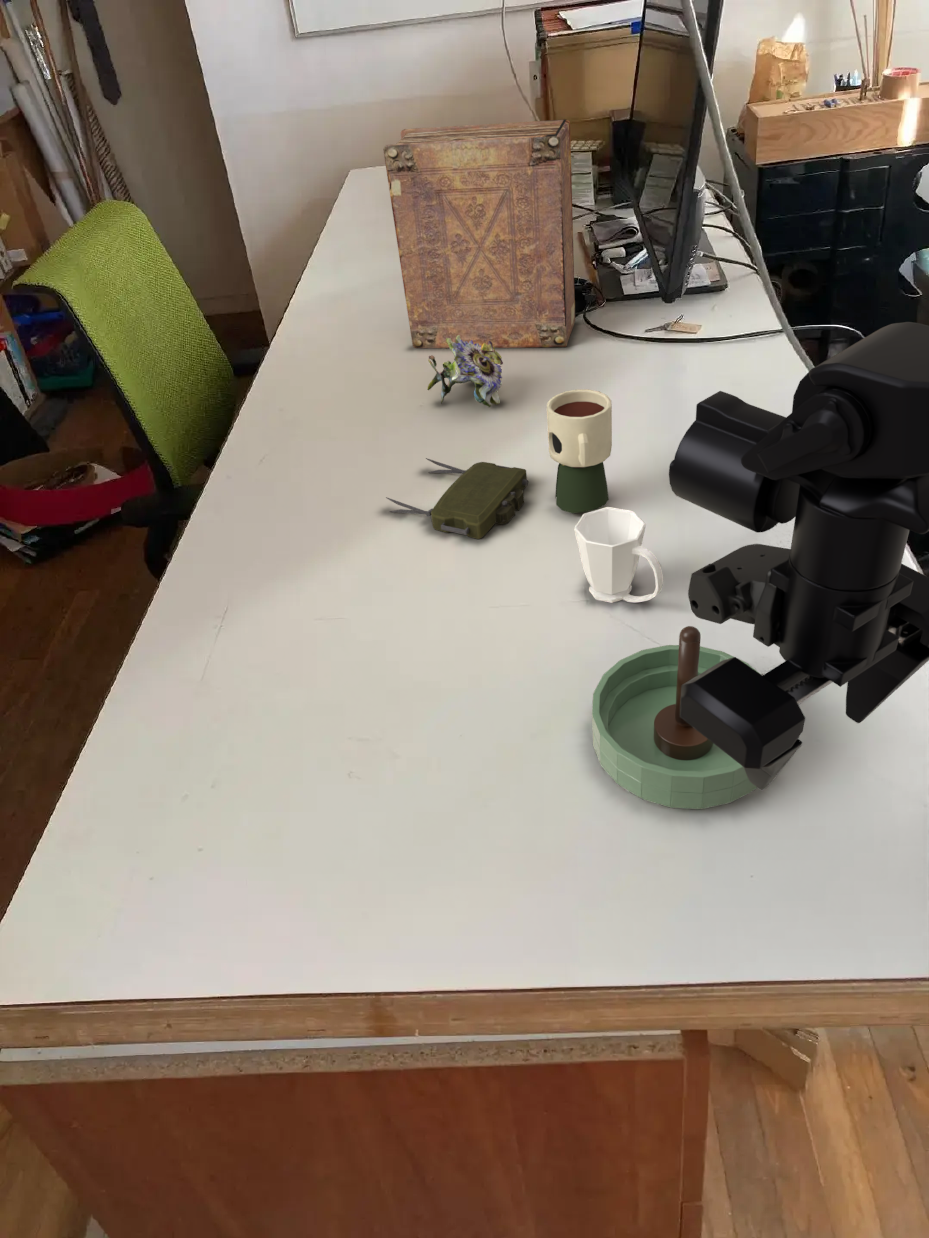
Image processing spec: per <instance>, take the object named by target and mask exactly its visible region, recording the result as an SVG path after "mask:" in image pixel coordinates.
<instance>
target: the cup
mask: <svg viewBox="0 0 929 1238" xmlns="http://www.w3.org/2000/svg"><path fill="white" fill-rule="evenodd" d="M646 526H647V524H646V523H645V521H644V520H642V518H641V517H640V516H639V515H638V514H637V513H636V512H635V511H634V510H631V509H624V508H618V507H611V506H606V507H605V506H604V507H601V508H598V509H596V510H591V511H587V512H584V513H583V514H582V515H581V517H580V518H579V520H578V522H577V523H576V524H575V526H574V528H573V529H574V535H575V539H576V542H577V548H578V551H579V557H580V561H581V566H582V569H583V572H584V574H585V578H586V580H587V583H588V584H589V587H588V592H589V593H590V594H591V596H593V598H594V599H595V600H596V601H599V602H606V603H610V604H614V603H615V602H620V601H622V600H623V601H625V602H627V603H641V602H642V603H643V602H647V601H650V600H652V599H653V598H654V597H657V596H658V595H659V594H660V593H661V592H662V589H663V587H664V575H663V571H662V566H661V564H660V562H659V560H658V558H657V556H656V555H655V554H654V553H653V552H652V551H651V550H650V549H648V548H646V547H645V546H643V541H644V536H645V530H646ZM640 557H643V558H644V559H646V560H647V561H648V563H649V566H650V567H651V568H652V570H653V575H654V581H655V589H654V591H653V593H649V594H646V595H645V594H644V595H632V594H630V592H631V591H632V589H633V586H632V582H633V580H634V577H635V574H636V572H637V568H638V565H639V561H640Z"/></svg>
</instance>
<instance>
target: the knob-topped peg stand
mask: <svg viewBox="0 0 929 1238" xmlns="http://www.w3.org/2000/svg"><path fill="white" fill-rule="evenodd" d="M701 635H702V634H701V632H700V630H699V629H698V628H696V626H691V625H687V626H685V627H683V628H682V629H681V630H680V632H679V637H678V645H679V653H678V671H677V689H676V704H673V705H669V706H667V707H665V708H663V709H662V710H661V711H659V713H658V714H657V715H656V717H655V720H654V742H655V744H656V746H657V747H658V749H659V750H660V751H661V752H662V753H664V754H665V755H667V756H669V757H671V758H674V759H678V760H693V759H697V758H700V757H702V756H704V755H705V754H707V753H708V752H709V751H710V749H711V748H712V746H713V743H712V742H711V741H710V740H709V739H707V738H706V737H705V736H703V735H702V734H701V733H700V732H698V731H697V730H696V729H695V728H693V727H692V726H691V725H689V724H688V723H687V722H686V721H684V720H683V719H682V718H681V717H680V700H681V685H683V684H684V683H686V682H688V681H689V680H691V679H693V678H694V677H696V676H698V666H699V652H700V646H701V640H702V639H701Z"/></svg>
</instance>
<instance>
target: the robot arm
mask: <svg viewBox="0 0 929 1238" xmlns="http://www.w3.org/2000/svg"><path fill="white" fill-rule="evenodd" d="M791 407H792V409H791V413H790V414H788V416H784V415H781V414H778V413H775V412H772V411H770V410H766V409H764V408H760V407H758V406H756V405H752V404H750V403H748V402H746V401H745V400H742V399H741V398H740V397H738V396H736V395H733V394H731V393H729V392H726V391H722V390H719V391H717V392H715V393H714V394H712V395H710V396H708V397H706V398H705V399H703V400H701V401H699V402H698V403H697V404H696V407H695V411H696V412H695V420H694V421H693V422H692V423H691V425H690V426H689V427H688V429H687V430H686V431H685V433H684V435H683V437H682V438H681V440H680V442H679V444H678V447H677V449H676V451H675V455H674V459H672V460H671V462H670V463H669V466H668V468H669V469H668V481H669V482H668V483H669V486H670V488H671V491H672V493H673V494H674V495H675V496H676V497H678V498H680V499H683V500H685V501H687V502H689V503H691V504H694V505H695V506H697V507H700V508H702V509H704V510H707V511H709V512H711V513H713V514H715V515H717V516H720V517H721V518H724V519H726V520H728V521H730V522H733V523H735V524H737V525H739V526H741V527H744V528H745V529H748V530H751V532H755V533H765V532H768V531H770V530H771V529H773V528H775V527H776V526H777V525H778V524H782V525H783V524H787V523H789V522H791V521H792V520H793V519H794V523H793V529H792V530H793V531H792V537H791V543H790V544H791V545H790V548H785V547H780V546H774V545H770V544H769V545H768V544H762V543H752V544H746V545H743V546H741V547H739V548H736V549H735V550H733V551H731V552H730V553H728V554H726V555H724V556H722V557H720V558H718V559H717V560H715V561H713V562H711V563H708V564H707V565H705V566H703V567H701V568H699V569H698V570H695V571H694V572H692V573H691V574H690V579H689V585H688V591H687V598H688V602H689V606H690V610H691V612H692V614H693V615H694V616H695V617H696V618H698V619H701V620H705V621H708V622H712V623H715V624H719V625H722V624H724V623H725V622H727V621H729V620H734V621H737V622H742V623H745V624H748V625H749V624H750V625H753V632H752V633H753V634H752V638H754V640H757V641H758V642H760V643H761V644H763V645H765V646H766V647H767V648H768V647H771V646H772V645H775V646H777V647H778V648H779V651H778V652H779V654H780V656H781V657H782V659H783V660H784V661H783V662H782V663H780V664H778V665H777V666H775V667H773V668H772V669H770V670H769V671H767V672H766V673H764V674H762V673H760V672H759V671H758V670H757V671H758V672H759V673H760V674H759V673H758V672H757V671H755V670H756V669H755V668H754V669H755V670H754V669H752V668H751V667H749V666H748V665H746V664H745V663H743V662H742V661H743V660H742V659H740V658H737V656H734V657H733V658H730V659H726V660H722V661H721V662H719V663H718V664H716V665H714V666H713V667H711V668H709V669H708V670H706V671H704V672H703V673H701V674H699V675H698V676H696V677H694V678H693V679H691V680H689V681H688V682H686V683H684V684H683V685H681V700H680V717H681V718H682V719H683V720H684V721H686V722H687V723H688V724H689V725H691V726H692V727H693V728H695V729H696V730H697V731H698V732H700V733H701V734H702V735H703V736H705V737H706V738H707V739H709V740H710V741H711V742H712V743H714V744H715V745H716V746H717V747H719V748H720V749H721V750H723V751H724V752H725V753H726V754H728V755H729V756H730V757H731V758H733V759H734V760H735V761H736V762H738V763H739V764H740V765H742V766H743V767H744V769H745V772H746V774H747V776H748V779H749V781H750V782H751V783H752V784H753V785H755V786H756V787H757V788H756V789H759V790H760V791H764V790H765V789H767V788H768V787H769V785H770V784H771V783H772V782H773V781H774V780H775V779H776V778H777V776H778V775H779V773H780V772H781V771H782V770H783V769H784V768H785V766H786V765H787V764H788V762H789V761H790V760H791V759H792V757H794V755H795V754H796V752H797V751H798V750H799V749H800V747H802V745H803V741H802V740H800V739H799V738H800V736H801V735H802V733H803V732H804V729H805V728H804V727H805V723H806V716H805V714H804V713H803V711H802V709H801V707H800V704H802V703H803V702H805V701H806V700H808V699H810V698H811V697H812V696H814V695H815V694H817V693H818V692H820V691H821V690H822V689H824V688H826V687H828V686H829V685H830V684H832V683H834V684H835V685H837V686H838V687H840V688H841V687H842V686H844V685H845V684H846V694H845V715H846V717H848V718H849V719H850V720H852V721H853V722H855V723H856V724H861V723H862V722H863V721H864V720H866V719H867V718H868V717H869V716H870V715H871V714H872V713H873V712H874V711H875V710H876V709H877V708H878V707H880V706H881V705H882V704H883V703H884V702H885V701H886V700H887V699H888V698H889V697H890V696H891V695H892V694H893V693H894V692H895V691H897V690H898V689H899V688H900V687H901V686H902V685H904V683H905V682H907V681H908V680H909V679H910V678H911V677H912V676H914V674H916V672H918V671H919V670H920V669H921V668H922V667H923V666H924V665H926V664H927V663H928V662H929V576H927V575H925V574H923V573H921V572H919V571H917V570H916V569H913V568H911V567H909V566H908V565H906V564H903V559H904V555H905V551H906V545H907V543H908V542H907V541H908V537H909V534H910V531H911V532H913V533H916V534H918V535H925V534H926V533H928V532H929V325H927V324H923V323H919V322H912V321H905V322H895V323H890V324H888V325H886V326H883V327H881V328H879V329H877V330H875V331H874V332H872V333H870V334H868V335H867V336H865V337H864V338H861V339H860V340H859V341H856V342H855V343H853V344H852V345H850V346H848V347H846V348H845V349H843V350H841V351H840V352H838V353H837V354H834V355H833V356H831V357H830V358H828V359H826V360H824V361H823V362H821V363H819V364H818V365H816V366H814V367H812V368H811V369H809V371H808V372H807V373H806V374H805V375H804V376H802V378H801V379H800V381H799V383H798V385H797V387H796V389H795V392H794V394H793V398H792V406H791ZM739 659H740V660H739ZM741 660H742V661H741Z"/></svg>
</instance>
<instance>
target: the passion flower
mask: <svg viewBox="0 0 929 1238" xmlns="http://www.w3.org/2000/svg"><path fill="white" fill-rule="evenodd" d="M446 341H447V344H448V346H449V348H448V349H450V351H451V352H452V354H453V356H454V357H453V362H452V361H450V360H447V361H444V362H442V368H443V369H442V371H438V369H437V368H436V367H437V361H436V357H435V355H433V354H431V355H429V356H428V363H430V366H431V367H432V369H433V370H434V371H435V375H434V377H433V378H432V379H431V381H430V382H429V383H428V385H427V390H428V391H430V390H431V389H432V388H433V387H434V386H435V385H436V384H438V383H439V382H441V391H440V404H441V405H442V404H443V402H444V400H445V397H446V396H447V395H448V394H450V393H451V392H452V388H453V386H455V384H465V383H467V382H471V383H472V384H473V385H474V391H473V398H474V399H475V401H476V402H478V403H479V404H482V405H484V406H486V407H488V408H491V407H492V405H495V406H496V405H497V406H498V405H500V403H501V401H500V396H499V393H498V392H499V391H500V389H501V386H502V385H503V382H502V380H501V379H503V376H502V373H503V372H502V371H503V369H502V367H501V366H502V365H504V362H503V360H502V355H500V353H499V352H498V351H496V348H494V347H493V345H492V342H491V341H488V345H486V344H485V343H483V344H482V346H480V345H479V344H478V343H477V344H473V342H472V340H471V341H469V343H468V342H466V341H464V342H463V341H462V340H461V339H460V335H458V336H457V337H456V343H455V342H452V341H451V339H450V338H446ZM445 379H448V382H447V383H446V381H445Z"/></svg>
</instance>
